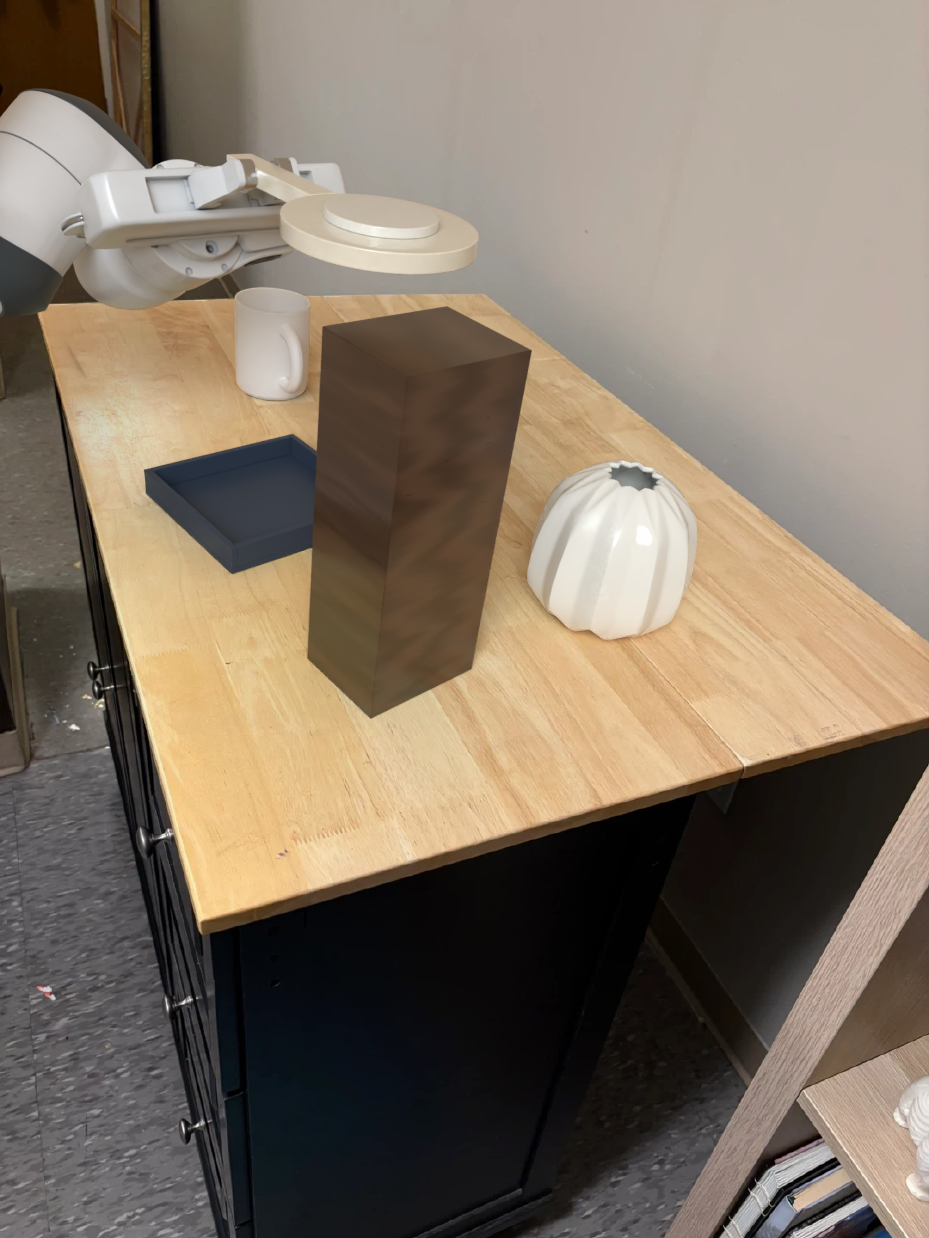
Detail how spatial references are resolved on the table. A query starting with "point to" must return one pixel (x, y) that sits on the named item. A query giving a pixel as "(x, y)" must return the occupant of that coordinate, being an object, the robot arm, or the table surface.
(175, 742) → the table surface
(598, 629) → the vase
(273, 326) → the mug
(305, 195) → the beige frying pan
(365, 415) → the stand
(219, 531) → the tray
